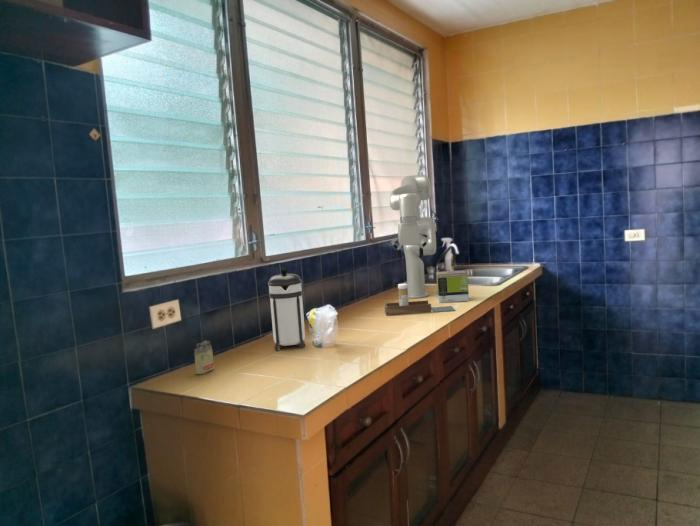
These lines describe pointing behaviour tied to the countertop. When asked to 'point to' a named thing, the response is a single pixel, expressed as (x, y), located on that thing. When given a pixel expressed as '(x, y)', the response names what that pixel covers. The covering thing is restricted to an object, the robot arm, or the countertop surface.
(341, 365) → the countertop surface
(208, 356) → the pale green labeled container
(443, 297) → the tea box
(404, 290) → the sprinkles bottle
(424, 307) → the walnut lane
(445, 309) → the mat
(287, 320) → the coffee press
